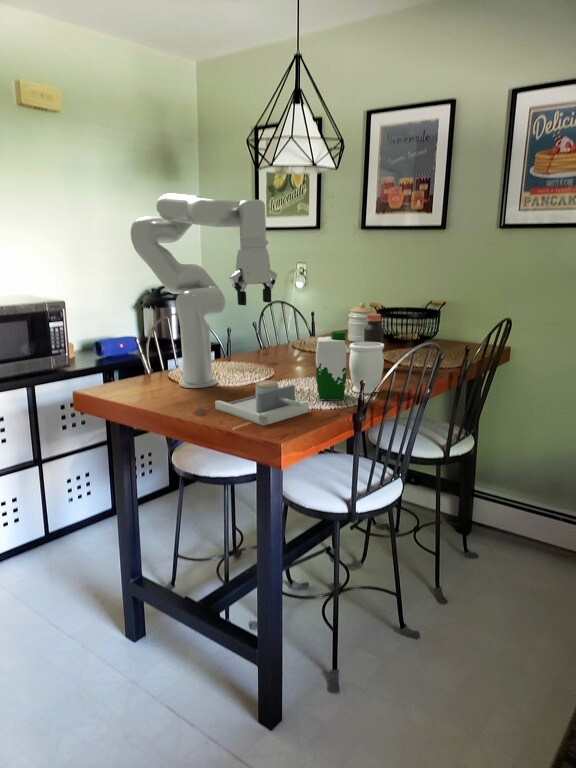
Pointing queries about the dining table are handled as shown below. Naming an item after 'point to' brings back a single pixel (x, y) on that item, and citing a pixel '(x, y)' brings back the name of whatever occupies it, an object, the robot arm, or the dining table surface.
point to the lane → (248, 412)
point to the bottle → (373, 329)
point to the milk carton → (331, 366)
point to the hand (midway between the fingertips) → (254, 303)
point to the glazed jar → (264, 388)
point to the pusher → (277, 398)
